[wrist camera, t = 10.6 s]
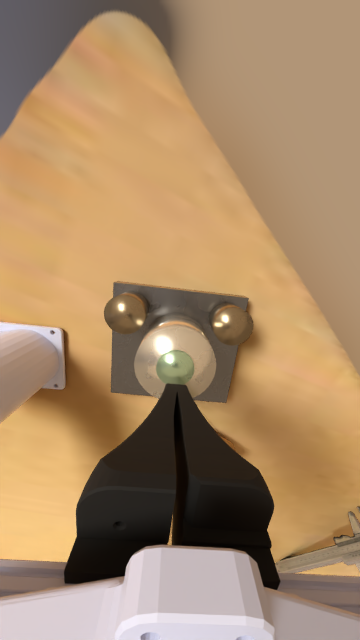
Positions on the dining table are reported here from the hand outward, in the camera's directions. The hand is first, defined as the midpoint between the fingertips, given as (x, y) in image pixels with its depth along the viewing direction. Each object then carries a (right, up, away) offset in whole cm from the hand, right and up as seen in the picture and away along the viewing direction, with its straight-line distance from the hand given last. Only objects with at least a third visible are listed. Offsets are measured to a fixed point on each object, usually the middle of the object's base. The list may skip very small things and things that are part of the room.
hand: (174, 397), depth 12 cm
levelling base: (0, -3, +12) cm, 12 cm away
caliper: (+24, -33, +21) cm, 45 cm away
